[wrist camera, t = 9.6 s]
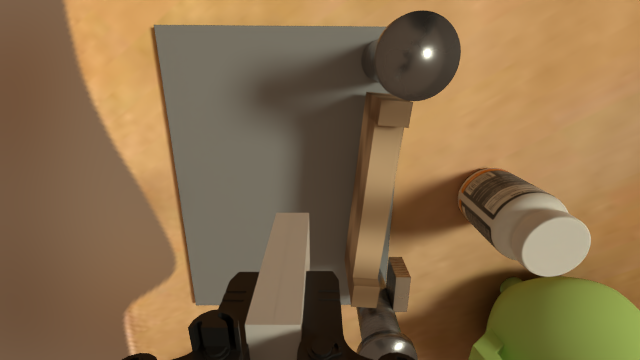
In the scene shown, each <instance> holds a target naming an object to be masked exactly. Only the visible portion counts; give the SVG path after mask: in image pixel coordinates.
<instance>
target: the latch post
mask: <svg viewBox="0 0 640 360" xmlns="http://www.w3.org/2000/svg"><path fill="white" fill-rule="evenodd" d="M378 282H379V286H380V290H379V296H378V301H377V307H376V308H366V307H356V308H357V314H358V320H359V326H360V332H361V338H362V342H361V343H360V344H359V346H358V349H357V354H359V355H361V356H364V357H367V358H370V359H373V360H378V359H379V358H380V357H381V356H383V355H385V354H387V353H395V352H399V353H402V354H406V355H409V356H410V357H412V358H413V359H415V360H418V359H417V354H416V351H415V348H414V345H413V343H412V341H411V340H410V339H409V338H408V337H407V336H406V335H404V334H402V333H401V331H400V328H399V325H398V322H397V318H396V315H395V312H407V307H408V298H409V290H410V282H411V276H410V274H409V272H408V270H407V268H406V265H405V263H404V261H403V259H402V257H389V258H388V269H387V281H386V284H385V281H384V278H383V275H382V272H381V270H380V269H379V274H378Z"/></svg>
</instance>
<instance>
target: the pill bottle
mask: <svg viewBox="0 0 640 360" xmlns="http://www.w3.org/2000/svg"><path fill="white" fill-rule="evenodd" d="M458 205H459V209H460V211H461V212H462V214H463V215H464V216H465V217H466V218H467V220H468V221H469V222H470V223H471V224H472V225H473V226H474V227H475V228H476V229H477V230H478V231H479V232H480V233H481V234H482V235H483V236H484V237H485V238H486V239H487V240H488V241H489V242H490V243H491V244H492V245H493V246H494V247H495V248H496V249H497V250H498V251H499V252H500V253H501V254H503V255H504V256H506V257H508V258H511V259H513V260H518V261H519V262H520V263H521V264H522V265H523V266H524V267H525V268H526V269H527V270H529V271H530V272H532V273H534V274H536V275H539V276H545V277H552V276H558V275H561V274H564V273H566V272H569V271H571V270H572V269H574V268H575V267H576V266H577V265H579V264H580V263H581V262H582V261H583V259H584V258H585V257H586V255H587V253H588V251H589V248H590V244H591V236H590V232H589V230H588V228H587V227H586V226H585V224H584V223H583V222H581V221H580V220H578V219H577V218H575V217H574V216H572V215H570V214H569V213H568V211H567V209H566V207H565V206H564V205H563V204H562V202H561V201H560V200H559V199H557V198H556V197H554V196H552V195H550V194H549V193H547V192H545V191H543V190H541V189H539V188H538V187H536V186H534V185H532V184H530V183H528V182H526V181H524V180H523V179H521V178H519V177H517V176H515V175H513V174H511V173H509V172H507V171H505V170H503V169H499V168H487V169H483V170H480V171H477V172H476V173H474V174H472V175H471V176H470V177H468V178H467V179H466V181H465V182H464V183H463V185H462V186H461V188H460V190H459V194H458Z"/></svg>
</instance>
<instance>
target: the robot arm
mask: <svg viewBox="0 0 640 360" xmlns="http://www.w3.org/2000/svg"><path fill="white" fill-rule="evenodd" d="M309 269H310V240H309V213H276V216H275V219H274V223H273V226H272V230H271V233H270V237H269V240H268V244H267V248H266V251H265V255H264V258H263V262H262V265H261V269H260V272H238V273H237V274H236V275H235V276H234V277H233V278H232V279H231V280H230V281H229V284H228V286H227V289H226V292H225V294H224V296H223V299H222V302H221V304H220V306H219V309H217V310H211V311H208V312H206V313H203V314H201V315H200V316H198V317H197V318H196V319H194V320H193V322H192V323H191V324H190V326H189V327H188V330H189V335H190V340H191V345H192V350H193V351H192V352H191V353H189V354H187V355H185V356H182V357H179V358H176V359H172V360H373V359H370V358H367V357H364V356H361V355H359V354H357V353H356V352H354V351H353V350H352V349H351V348H350V347H349V346H348V345H347V343H346V341H345V340H344V336H343V327H342V314H341V302H340V289H339V280H338V278H337V277H336V275H335V274H334V272H333V271H309ZM122 360H157V358H156V357H155V356H153V355H151V354H149V353H138V354H134V355H131V356H128V357H126V358H124V359H122ZM378 360H415V359H413V358H412V357H410V356H409V355H406V354H402V353H399V352H395V353H387V354H385V355H383V356H381V357H380V358H379V359H378Z"/></svg>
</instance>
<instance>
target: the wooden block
mask: <svg viewBox="0 0 640 360" xmlns="http://www.w3.org/2000/svg"><path fill="white" fill-rule="evenodd" d="M412 105H413V102H410V101H408V100H403V99H400V98H398V97H395V96H393V95H391V94H386V93H375V92H366V97H365V105H364V113H363V120H362V128H361V136H360V143H359V151H358V159H357V166H356V174H355V182H354V189H353V197H352V205H351V212H350V220H349V228H348V235H347V243H346V251H345V258H344V261H345V268H346V275H347V281H348V288H349V295H350V302H351V307H366V308H376V307H377V301H378V296H379V290H380V286H379V282H378V274H379V268H380V263H381V257H382V251H383V246H384V240H385V234H386V228H387V223H388V217H389V211H390V205H391V200H392V194H393V188H394V182H395V177H396V171H397V165H398V159H399V154H400V148H401V142H402V136H403V131H404V127H405V128H409V122H410V117H411V111H412Z"/></svg>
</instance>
